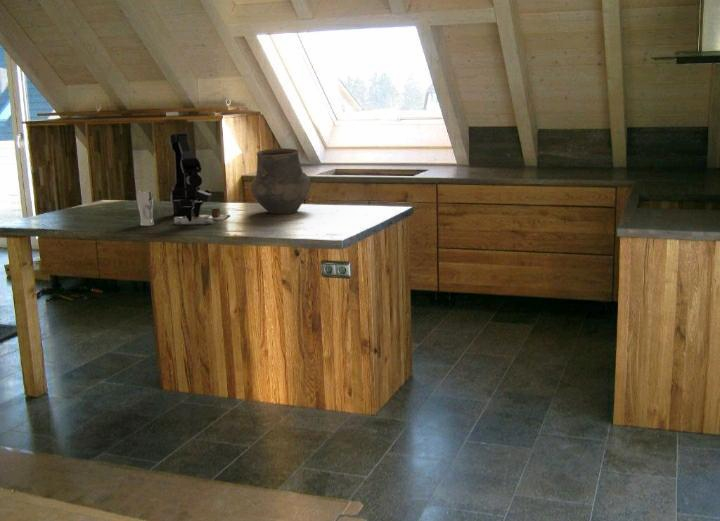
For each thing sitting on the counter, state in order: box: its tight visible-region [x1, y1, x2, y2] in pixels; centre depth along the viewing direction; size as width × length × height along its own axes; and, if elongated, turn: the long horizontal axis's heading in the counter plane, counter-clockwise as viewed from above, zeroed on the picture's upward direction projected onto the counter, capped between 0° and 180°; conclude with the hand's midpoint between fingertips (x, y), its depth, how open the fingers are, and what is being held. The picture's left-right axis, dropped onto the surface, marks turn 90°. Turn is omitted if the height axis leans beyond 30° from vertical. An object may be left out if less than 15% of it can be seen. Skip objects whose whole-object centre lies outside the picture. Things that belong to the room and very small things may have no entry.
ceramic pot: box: [250, 148, 311, 215], centre depth 396 cm, size 28×28×30 cm
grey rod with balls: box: [173, 216, 214, 225], centre depth 374 cm, size 18×4×3 cm, turn 81°
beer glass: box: [136, 190, 155, 227], centre depth 373 cm, size 7×7×15 cm
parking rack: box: [192, 207, 231, 222], centre depth 386 cm, size 20×11×5 cm, turn 81°
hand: (193, 219), depth 374 cm, fingers open, 9 cm apart
